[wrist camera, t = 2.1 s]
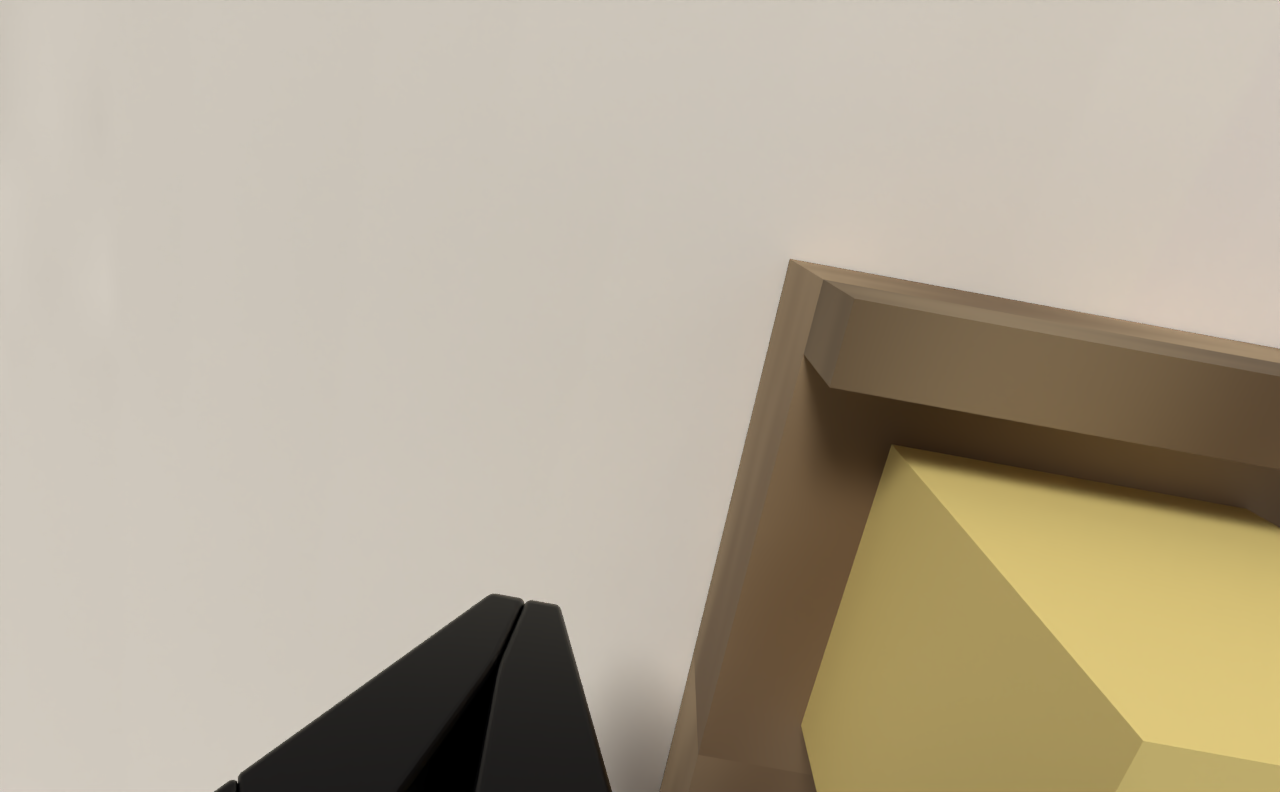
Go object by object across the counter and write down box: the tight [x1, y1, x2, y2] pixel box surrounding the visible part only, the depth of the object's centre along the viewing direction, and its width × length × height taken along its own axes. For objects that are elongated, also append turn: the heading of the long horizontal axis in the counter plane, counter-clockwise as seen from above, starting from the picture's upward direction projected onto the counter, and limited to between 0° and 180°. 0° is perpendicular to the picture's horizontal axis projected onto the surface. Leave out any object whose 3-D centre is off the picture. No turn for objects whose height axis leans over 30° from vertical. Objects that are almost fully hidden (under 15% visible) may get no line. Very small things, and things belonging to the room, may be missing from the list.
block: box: [801, 444, 1280, 792], centre depth 7 cm, size 5×5×5 cm
